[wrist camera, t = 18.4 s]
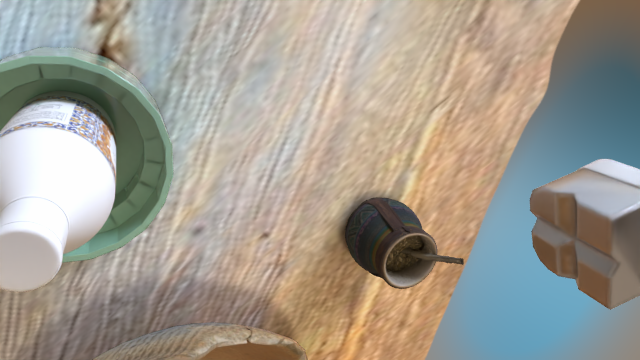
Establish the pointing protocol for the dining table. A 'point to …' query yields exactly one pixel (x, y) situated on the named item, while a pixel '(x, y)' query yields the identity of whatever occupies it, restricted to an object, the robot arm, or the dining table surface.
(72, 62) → the green pet bowl
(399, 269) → the mate gourd
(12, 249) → the bath foam
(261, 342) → the ceramic bowl
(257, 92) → the dining table surface
